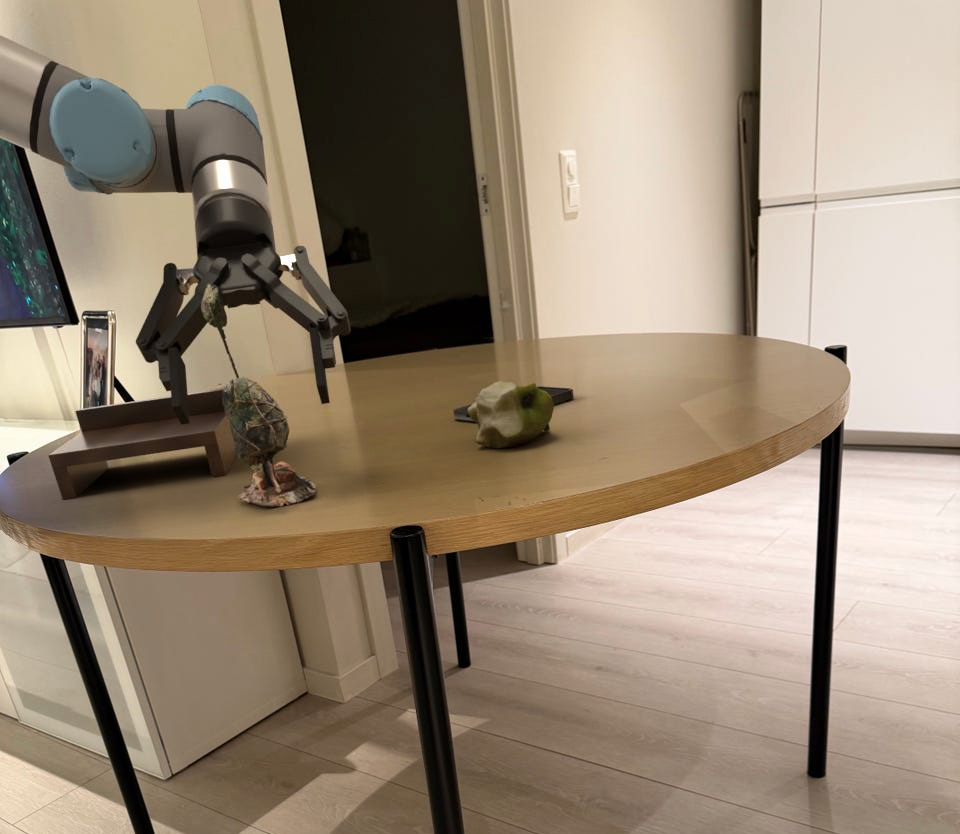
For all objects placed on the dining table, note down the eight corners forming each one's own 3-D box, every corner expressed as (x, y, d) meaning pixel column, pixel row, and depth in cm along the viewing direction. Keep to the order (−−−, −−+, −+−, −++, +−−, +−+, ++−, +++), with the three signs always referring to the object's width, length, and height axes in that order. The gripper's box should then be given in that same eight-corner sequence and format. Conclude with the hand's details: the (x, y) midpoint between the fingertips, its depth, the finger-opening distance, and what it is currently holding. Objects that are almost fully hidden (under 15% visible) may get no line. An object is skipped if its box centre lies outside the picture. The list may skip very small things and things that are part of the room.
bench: (62, 499, 98) (40, 432, 95) (96, 469, 111) (77, 409, 108) (225, 475, 99) (208, 407, 96) (240, 448, 112) (226, 388, 109)
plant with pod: (224, 522, 82) (165, 291, 74) (247, 489, 92) (197, 283, 84) (311, 510, 82) (262, 278, 73) (324, 478, 92) (283, 272, 84)
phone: (576, 388, 114) (490, 414, 106) (577, 397, 115) (491, 423, 106) (533, 386, 120) (448, 410, 111) (534, 394, 120) (450, 419, 112)
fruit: (563, 456, 94) (551, 384, 89) (476, 474, 95) (460, 403, 90) (555, 422, 101) (543, 353, 96) (475, 438, 102) (460, 371, 97)
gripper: (360, 237, 92) (389, 409, 85) (123, 269, 91) (132, 447, 84) (351, 177, 85) (381, 359, 78) (94, 210, 84) (100, 399, 77)
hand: (252, 405), depth 81 cm, fingers open, 12 cm apart
